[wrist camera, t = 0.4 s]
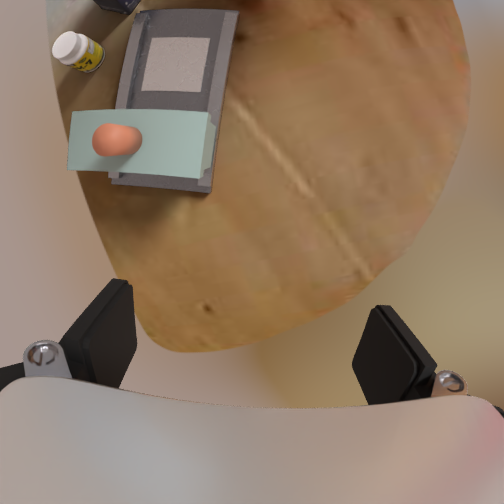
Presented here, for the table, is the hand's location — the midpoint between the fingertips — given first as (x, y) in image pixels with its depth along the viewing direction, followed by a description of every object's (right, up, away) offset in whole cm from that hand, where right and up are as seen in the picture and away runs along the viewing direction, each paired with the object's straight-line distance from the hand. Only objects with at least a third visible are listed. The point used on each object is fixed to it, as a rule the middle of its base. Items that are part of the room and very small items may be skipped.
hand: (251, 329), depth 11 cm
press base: (-10, +24, +23) cm, 35 cm away
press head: (-11, +16, +23) cm, 30 cm away
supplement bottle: (-23, +31, +20) cm, 44 cm away
